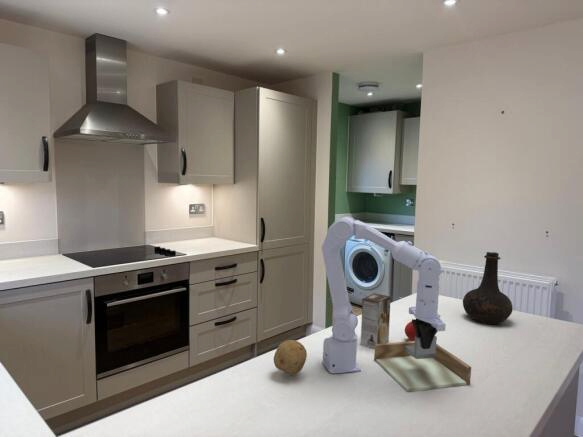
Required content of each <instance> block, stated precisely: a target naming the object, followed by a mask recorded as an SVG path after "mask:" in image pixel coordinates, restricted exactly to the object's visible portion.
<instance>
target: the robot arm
mask: <svg viewBox="0 0 583 437" xmlns="http://www.w3.org/2000/svg"><path fill="white" fill-rule="evenodd" d="M353 237H354V238H353ZM352 238H353V240H366V241H369V242H371V243H372V244H375V245H377V246H379V247H380V248H382V249H385V250H386V251H389V252H390V253H391V256H392V259H394V260H395V261H397V262H398V263H400V264H403V265H405V266H406V267H407V268H410V269H411V270H413V271H417V272H418V281H417V282H416V298H415V300H416V301H415V306H409V307H408V314H409V315H413V317H414V319H415V320H412V319H411V321H412V324H413V326H414V328H415V331H416V335H417V336H421V344H422V348H423V349H430V347H431V344H432V341H433V338H434V336H436V335H437V333H438V332H445V331H446V323H445V322H443V320H442V319H441V314H440V313H438V311H439V310H438V309H439V295H440V294H439V292H440V283H439V282H440V275H442V271H443V269H442V266H441V264H440V260H439V259H438V258H437V257H436V256H434V255H433V254H432V253H429V252H428V251H426V250H424V251H423V250H421V249H420V248H418V247H416V246H414V245H413V242H412V241H410V240H408V241H405V240H401V241H396V240H394V239H393V238H390V237H389V236H387V235H386V234H385V233H382V232H381V231H379V230H377V229H376V228H374V227H372V226H371V225H369V224H367V223H366V222H364V221H361V220H358V219H355V218H353V217H352V216H350V215H348V216H347V215H346V216H343V217H340V218H338V219H336V220H335V221H333V223H332V224H331V225H330V226H329V228H328V229H327V232H326V235H325V237H324V241H323V243H322V246H321V252H322V257H323V262H324V266H325V272H326V278H327V282H328V289H329V293H330V298H331V303H332V308H333V309H332V320H333V322H332V327H331V332H332V334H331V336H329V337H325V338H324V340H323V347H322V348H323V349H322V350H323V351H322V360H321V362H322V363H323V364H322V365H324V367H325V368H326V370H327V371H328V372H329V373H330V374H331V375H332V374H334V375H335V374H341V373H342V374H343V373H350V372H361V371H362V368H361V367H360V366H359V365H358V364H357V352H358V351H357V349H358V348H357V347H358V336H357V333H356V328H357V326H358V323H359V321H358V316H357V315H356V314H355V312H354V310H353V306H352V304H351V302H350V297H349V293H348V288H347V287H348V286H347V282H346V277H345V273H344V268H343V267H344V266H343V262H342V257H341V252H340V250H341V249H342V248H343V246H344V245H345V244H346V242H348V241H349V240H351V239H352Z"/></svg>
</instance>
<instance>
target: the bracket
mask: <svg viewBox="0 0 583 437" xmlns="http://www.w3.org/2000/svg"><path fill="white" fill-rule="evenodd" d="M437 338H438V337H437V336H436V335H435V336H434V338H433V341H432V344H431V347H430V349H423V348H422V344H421V336H415V345H414V346H405V351H406V352H408V353H409V354H410V355H411V356H413V357H414V358H415V359H424V358H435V353H436V344H437Z"/></svg>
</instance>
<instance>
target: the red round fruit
mask: <svg viewBox="0 0 583 437" xmlns="http://www.w3.org/2000/svg"><path fill="white" fill-rule="evenodd" d="M415 319H416V318H412V319H411V321H409V322H407V324H406V325H405V327H404V333H405V336H406V337H407V338H408V340H409V341H415V336H417V335H416V331H415V328H414V326H413V324H412V320H415Z"/></svg>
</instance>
